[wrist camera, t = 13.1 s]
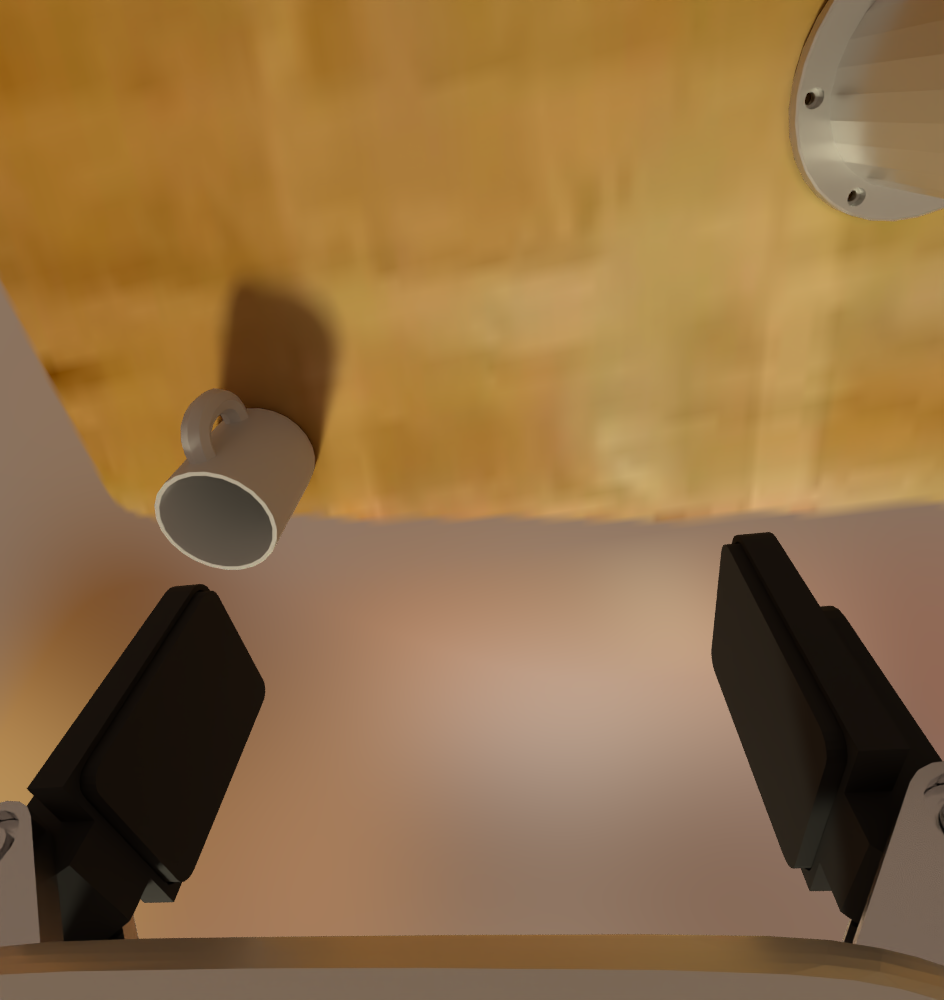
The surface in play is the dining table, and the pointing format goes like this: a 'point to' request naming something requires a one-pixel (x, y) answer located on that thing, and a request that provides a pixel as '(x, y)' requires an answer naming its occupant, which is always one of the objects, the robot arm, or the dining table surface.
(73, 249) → the dining table surface
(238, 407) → the cup
